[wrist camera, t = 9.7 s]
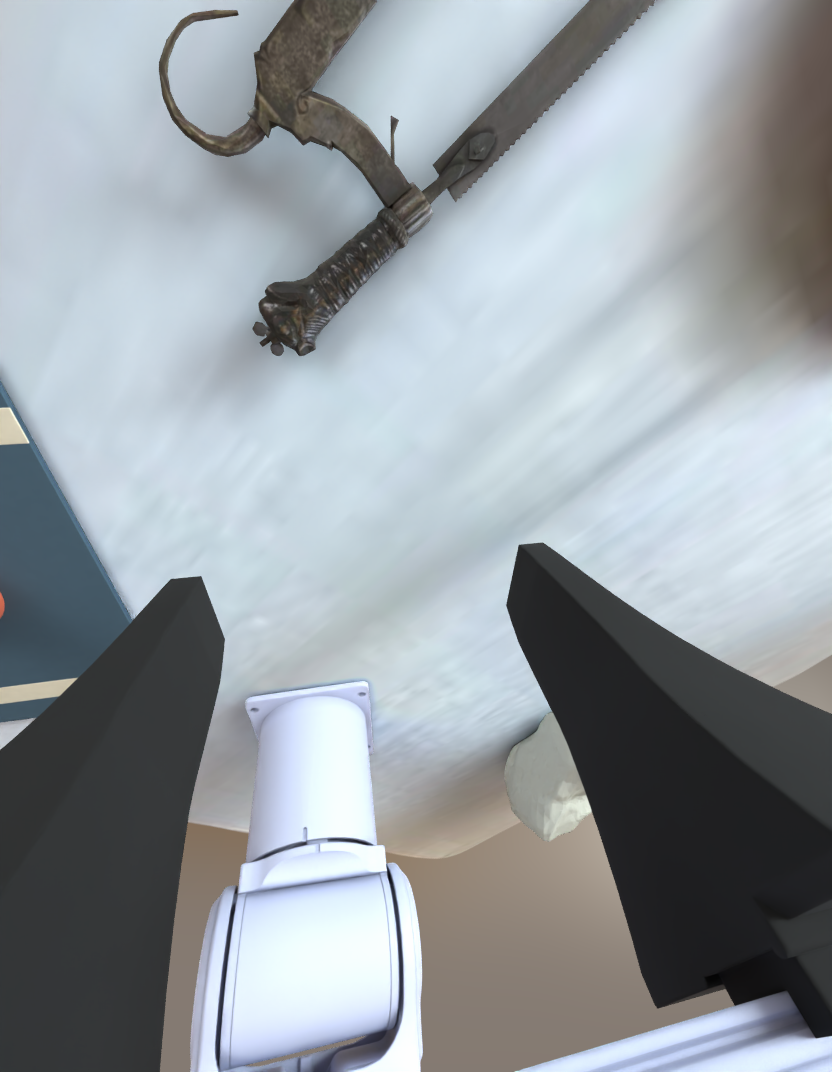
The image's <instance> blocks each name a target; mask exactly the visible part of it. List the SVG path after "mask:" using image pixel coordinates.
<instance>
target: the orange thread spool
mask: <svg viewBox="0 0 832 1072" xmlns="http://www.w3.org/2000/svg"><path fill="white" fill-rule="evenodd" d="M3 613H4V599H3V597H2V594H1V593H0V619H1V617H2V615H3Z"/></svg>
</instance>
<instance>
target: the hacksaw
mask: <svg viewBox="0 0 832 1072" xmlns="http://www.w3.org/2000/svg"><path fill="white" fill-rule="evenodd" d="M654 1H655V0H590V1H589V2H588V3H587V4H586V5H585V6H584V7H583V8H582V9H581V10H580V11H579V12H578V13H577V14H576V15H575V16H574V17H573V19H572V20H571V21H570V22H569V23H568V24H567V25H566V26H565V27H564V28H563V29H562V30H561V31H560V32H559V33H558V34H557V35H556V36H555V37H554V38H553V39H552V41H551V42H550V43H549V44H548V45H547V46H546V47H545V48H544V49H543V50H542V51H541V52H540V53H539V54H538V55H537V56H536V57H535V58H534V59H533V60H532V61H531V63H530V64H529V65H528V66H527V67H526V68H525V69H524V70H523V71H522V72H521V73H520V74H519V75H518V76H517V77H516V78H515V79H514V80H513V81H512V82H511V83H510V85H509V86H508V87H507V88H506V89H505V90H504V91H503V92H502V93H501V94H500V95H499V96H498V97H497V98H496V99H495V100H494V101H493V102H492V103H491V104H490V105H489V107H488V108H487V109H486V110H485V111H484V112H483V113H482V114H481V115H480V116H479V117H478V118H477V119H476V120H475V121H474V122H473V123H472V124H471V125H470V126H469V127H468V129H467V130H466V131H465V132H464V133H463V134H462V135H461V136H460V137H459V138H458V139H457V140H456V141H455V142H454V143H453V144H452V145H451V146H450V147H449V148H448V149H447V151H446V152H445V153H444V154H443V155H442V156H441V157H440V158H439V159H438V160H437V161H436V162H435V163H434V164H433V166H434V168H435V169H436V171H437V173H438V174H439V177H438V178H437V180H436V181H434V182H433V183H432V184H431V185H429V186H428V187H427V188H426V189H424V190H423V191H422V192H421V191H420V190H419V188H418V187H417V186H416V185H415V184H414V183H413V182H412V183H410V184H409V183H408V182H407V180H406V179H405V177H404V176H403V174H402V173H401V171H400V170H399V168H398V167H397V166H396V165H395V162H394V132H395V129H396V127H397V124H398V121H399V120H398V119H396V118H394V117H392V116H391V157H390V155H389V154H388V153H387V151H386V150H385V148H384V147H383V146H382V144H381V143H380V142H379V140H378V139H377V138H376V136H375V135H374V133H373V132H372V131H371V129H370V128H369V127H368V125H367V124H365V123H364V122H363V121H362V120H360V119H359V118H358V117H356V116H355V115H354V114H352V113H351V112H350V111H349V110H347V109H346V108H345V107H343V106H342V105H340V104H339V103H337V102H336V101H334V100H333V99H330V98H328V97H325V96H323V95H320V94H317V93H315V92H312V88H313V87H314V86H315V84H316V83H317V81H318V80H319V78H320V77H321V76H322V74H323V73H324V71H325V70H326V68H327V67H328V66H329V64H330V63H331V61H332V60H333V59H334V57H335V56H336V55H337V54H338V52H339V51H340V50H341V49H342V47H343V46H344V45H345V43H346V42H347V41H348V40H349V38H350V37H351V36H352V34H353V33H354V32H355V30H356V29H357V28H358V26H359V25H360V24H361V22H362V21H363V20H364V18H365V17H366V16H367V14H368V13H369V12H370V10H371V9H372V8H373V6H374V5H375V3H376V2H377V0H294V1H293V3H292V4H291V6H290V7H289V8H288V10H287V11H286V12H285V14H284V15H283V17H282V18H281V19H280V21H279V22H278V23H277V25H276V26H275V28H274V29H273V30H272V32H271V33H270V34H269V36H268V37H267V39H266V40H265V41H264V42H262V43H261V46H260V50H259V51H257V52H255V53H254V59H255V67H256V75H257V88H256V95H255V101H254V107H253V108H252V109H251V110H250V111H249V112H248V113H247V114H248V115H249V117H250V119H249V120H248V122H247V123H246V124H245V125H244V126H242V127H241V128H239V129H238V130H236V131H234V132H233V133H231V134H230V135H228V136H227V137H221V136H215V135H209V134H206V133H205V132H203V131H202V130H200V129H199V128H198V127H196V126H195V125H193V124H192V123H190V122H189V121H187V120H186V119H185V117H184V116H183V115H182V113H181V112H180V110H179V109H178V107H177V106H176V104H175V101H174V99H173V97H172V94H171V92H170V87H169V81H168V75H167V72H168V62H169V57H170V55H171V52H172V49H173V47H174V44H175V42H176V40H177V38H178V37H179V35H180V34H181V32H182V31H183V29H184V28H185V27H187V26H189V25H190V24H192V23H193V22H196V21H203V20H209V19H216V18H223V17H230V16H237V15H238V11H237V10H213V11H205V12H198V13H192V14H191V15H189V16H187V17H185V18H184V19H182V20H181V21H180V22H179V23H178V25H177V26H176V27H175V29H174V30H173V32H172V33H171V35H170V36H169V37H168V39H167V40H166V43H165V46H164V49H163V52H162V55H161V58H160V61H159V74H160V81H161V88H162V96H163V99H164V101H165V104H166V106H167V109H168V111H169V113H170V116H171V118H172V120H173V121H174V123H175V124H176V125H177V126H178V127H179V128H180V130H181V131H182V132H183V133H184V134H185V135H186V136H187V137H188V138H190V139H191V140H192V141H194V142H195V143H196V144H198V145H199V146H200V147H202V148H203V149H205V150H207V151H209V152H211V153H213V154H215V155H219V156H226V157H230V156H234V155H239V154H243V153H247V152H248V151H249V150H250V149H252V148H253V147H254V146H256V145H257V144H258V143H260V142H261V141H262V140H263V138H264V136H265V135H266V136H267V137H268V138H269V135H270V132H271V129H272V128H274V127H276V126H279V127H281V128H283V129H285V130H287V131H289V132H291V133H292V134H293V135H294V136H295V137H296V138H297V139H298V140H299V141H300V143H301V144H302V145H305V144H307V143H308V142H310V141H311V142H314V143H317V144H320V145H323V146H326V147H327V148H328V149H330V150H331V151H332V149H333V147H334V148H336V149H338V150H339V151H341V152H342V153H343V154H344V155H345V156H346V157H347V158H348V159H349V160H350V161H351V162H352V163H353V164H354V165H355V166H356V167H357V168H358V169H359V170H360V171H361V172H362V173H363V175H364V176H365V178H366V179H367V181H368V182H369V184H370V185H371V186H372V188H373V189H374V191H375V192H376V194H377V195H378V197H379V198H380V200H381V201H382V203H383V204H384V205H385V208H383V209H382V210H381V211H380V212H379V213H378V215H377V218H376V219H375V220H374V221H372V222H371V223H370V224H368V225H367V226H366V228H365V229H363V230H361V231H359V232H358V233H357V235H356V236H355V237H354V238H353V239H351V240H349V241H348V242H347V243H346V244H345V245H344V246H343V247H342V248H341V249H340V250H338V251H336V252H335V254H334V255H333V256H332V257H331V258H329V259H328V260H326V261H325V262H323V263H322V264H321V265H320V266H318V268H317V269H316V271H315V272H313V273H312V274H311V275H309V276H308V277H307V278H304V279H301V280H297V281H294V282H275V283H272V284H271V285H269V286H268V287H267V289H266V290H265V293H266V295H267V296H266V297H264V298H263V299H261V300H260V302H259V310H260V313H261V314H262V316H263V318H264V320H265V321H266V323H267V325H268V327H267V326H265V325H264V324H263V323H261V322H256V323H255V325H254V327H253V331H254V332H255V334H256V335H259V336H264V335H265V334H266V336H267V337H266V338H265V339H264V340H262V341H261V342H260V344H261V346H262V347H263V346H265V345H266V344H268V343H269V342H270V341H271V342H272V345H271V351H272V353H273V354H274V355H276V356H281V355H282V354H283V352H284V348H283V345H282V344H280V343H281V342H282V343H283V344H284V345H286V346H288V347H290V348H292V349H294V350H295V351H296V352H297V354H298V355H299V356H304V355H306V354H308V353H310V352H311V351H313V350H315V349H316V347H315V345H316V344H315V341H316V337H317V336H318V334H319V333H320V332H321V330H322V329H323V327H324V326H326V325H327V323H328V322H329V321H330V319H331V318H332V317H333V316H334V315H335V314H336V313H337V312H338V311H339V310H340V309H341V308H342V306H343V305H345V304H347V303H348V301H349V299H350V298H351V297H352V296H353V295H354V294H355V293H356V292H357V291H358V289H359V288H360V287H361V286H362V285H363V284H365V283H366V282H367V280H368V279H369V278H370V277H371V276H372V275H373V274H374V273H375V272H376V271H377V270H378V269H379V268H380V266H381V265H382V264H384V263H385V262H386V261H387V260H388V259H389V258H390V257H392V256H393V255H394V253H395V252H396V251H397V249H401V248H403V247H405V246H406V245H407V243H408V240H409V238H410V237H411V236H413V235H414V234H415V233H417V232H418V231H419V230H420V229H421V228H422V227H424V226H425V225H426V224H427V223H428V222H429V221H430V219H431V217H432V214H433V212H432V209H431V206H430V204H431V203H432V202H433V201H434V200H435V199H436V198H437V197H438V196H439V195H440V194H441V193H442V192H443V191H444V190H445V189H446V188H447V189H448V191H449V192H450V194H451V196H452V197H453V199H454V201H455V202H457V199H458V198H461V197H462V194H463V193H466V192H467V189H468V188H471V187H472V184H473V183H476V182H477V180H478V178H479V177H482V175H483V173H484V172H487V171H488V168H489V167H492V166H493V164H494V162H495V161H498V159H499V156H503V155H504V152H505V151H508V150H509V148H510V145H514V144H515V141H516V140H517V139H520V137H521V135H522V134H525V133H526V130H527V128H531V127H532V124H533V123H536V122H537V120H538V117H542V116H543V113H544V111H548V110H549V107H550V105H554V103H555V100H557V99H560V97H561V94H563V93H566V91H567V89H568V88H570V87H572V85H573V82H576V81H578V79H579V76H582V75H584V73H585V70H587V69H590V67H591V65H592V63H596V61H597V58H598V57H602V55H603V53H604V51H608V49H609V47H610V45H612V44H615V41H616V39H617V38H621V36H622V34H623V32H627V30H628V28H629V26H631V25H634V23H635V21H636V19H640V18H641V15H642V13H643V12H647V10H648V8H649V6H653V5H654Z"/></svg>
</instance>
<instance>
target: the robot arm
mask: <svg viewBox="0 0 832 1072" xmlns="http://www.w3.org/2000/svg"><path fill="white" fill-rule="evenodd" d="M506 606H507V609H508V612H509V615H510V618H511V621H512V625H513V627H514V630H515V633H516V636H517V639H518V642H519V644H520V646H521V648H522V650H523V653H524V655H525V657H526V659H527V661H528V663H529V665H530V667H531V669H532V671H533V673H534V675H535V677H536V679H537V681H538V683H539V686H540V688H541V690H542V692H543V694H544V696H545V698H546V700H547V702H548V704H549V706H550V708H551V710H552V712H553V714H554V716H555V718H556V720H557V722H558V724H559V726H560V729H561V731H562V733H563V736H564V738H565V740H566V742H567V745H568V747H569V750H570V753H571V755H572V758H573V761H574V763H575V766H576V769H577V771H578V774H579V777H580V779H581V782H582V785H583V787H584V790H585V793H586V796H587V799H588V802H589V805H590V807H591V810H592V813H593V816H594V818H595V822H596V824H597V827H598V830H599V833H600V836H601V839H602V842H603V845H604V849H605V852H606V855H607V858H608V861H609V864H610V867H611V870H612V874H613V877H614V880H615V883H616V886H617V889H618V893H619V896H620V900H621V903H622V906H623V910H624V913H625V917H626V920H627V923H628V926H629V930H630V933H631V937H632V940H633V944H634V948H635V951H636V955H637V959H638V962H639V966H640V970H641V973H642V976H643V978H644V980H645V983H646V985H647V988H648V990H649V992H650V994H651V997H652V999H653V1002H654V1004H655V1006H656V1007H657V1008H661V1007H665V1006H668V1005H671V1004H675V1003H678V1002H682V1001H685V1000H689V999H692V998H696V997H699V996H702V995H705V994H709V993H713V992H716V991H720V990H723V989H726V990H727V992H728V994H729V996H730V998H731V999H732V1001H733V1003H734V1005H735V1006H733V1007H730V1008H726V1009H723V1010H720V1011H717V1012H713V1013H710V1014H706V1015H703V1016H700V1017H697V1018H693V1019H690V1020H686V1021H683V1022H679V1023H677V1024H673V1025H670V1026H666V1027H663V1028H659V1029H656V1030H653V1031H649V1032H646V1033H643V1034H639V1035H636V1036H633V1037H629V1038H626V1039H623V1040H619V1041H616V1042H612V1043H609V1044H606V1045H602V1046H599V1047H596V1048H592V1049H589V1050H586V1051H582V1052H579V1053H576V1054H572V1055H569V1056H566V1057H562V1058H559V1059H555V1060H552V1061H549V1062H545V1063H542V1064H539V1065H536V1066H532V1067H529V1068H525V1069H522V1070H518V1071H515V1072H832V714H830V713H828V712H825V711H823V710H821V709H819V708H816V707H814V706H812V705H809V704H807V703H805V702H803V701H801V700H799V699H796V698H794V697H792V696H790V695H788V694H786V693H783V692H781V691H779V690H777V689H775V688H773V687H771V686H769V685H767V684H765V683H763V682H761V681H759V680H757V679H755V678H753V677H751V676H749V675H747V674H745V673H743V672H741V671H739V670H737V669H735V668H733V667H731V666H729V665H727V664H725V663H723V662H722V661H720V660H718V659H716V658H714V657H713V656H711V655H709V654H707V653H705V652H704V651H702V650H700V649H698V648H697V647H695V646H693V645H691V644H690V643H688V642H686V641H684V640H683V639H681V638H679V637H678V636H676V635H674V634H673V633H671V632H669V631H668V630H666V629H665V628H663V627H662V626H660V625H658V624H657V623H655V622H654V621H652V620H651V619H649V618H648V617H646V616H645V615H643V614H641V613H640V612H638V611H637V610H635V609H634V608H633V607H631V606H630V605H628V604H627V603H625V602H624V601H622V600H621V599H620V598H618V597H617V596H615V595H614V594H612V593H611V592H610V591H608V590H607V589H605V588H604V587H603V586H601V585H600V584H599V583H597V582H596V581H595V580H593V579H592V578H590V577H589V576H588V575H586V574H585V573H584V572H582V571H581V570H580V569H578V568H577V567H576V566H574V565H573V564H572V563H570V562H569V561H568V560H566V559H565V558H564V557H562V556H561V555H560V554H558V553H557V552H556V551H554V550H553V549H551V548H550V547H548V546H547V545H546V544H544V543H534V544H524V545H519V547H518V552H517V556H516V561H515V566H514V571H513V576H512V580H511V585H510V590H509V595H508V600H507V604H506ZM224 642H225V638H224V636H223V633H222V630H221V628H220V625H219V622H218V620H217V617H216V614H215V612H214V609H213V606H212V604H211V601H210V598H209V596H208V593H207V590H206V588H205V585H204V582H203V580H202V577H201V576H199V577H188V578H178V579H171V580H170V581H169V582H168V583H167V584H166V585H165V586H164V587H163V588H162V589H161V590H160V591H159V592H158V594H157V595H156V596H155V597H154V598H153V599H152V600H151V601H150V602H149V603H148V604H147V606H146V607H145V608H144V609H143V610H142V611H141V612H140V613H139V614H138V616H137V617H136V618H135V619H134V620H133V621H132V622H131V623H130V624H129V625H128V626H127V628H126V629H125V630H124V631H123V632H122V633H121V634H120V635H119V636H118V637H117V638H116V639H115V640H114V641H113V643H112V644H111V645H110V646H109V647H108V648H107V649H106V650H105V651H104V652H103V653H102V654H101V655H100V656H99V657H98V658H97V660H96V661H95V662H94V663H93V664H92V665H91V666H90V667H89V668H88V669H87V670H86V671H85V672H84V673H83V674H81V675H80V676H79V677H78V678H77V679H76V680H75V681H74V682H73V683H72V684H71V685H70V686H69V687H68V688H67V689H66V690H65V691H64V692H63V693H62V694H61V695H60V696H59V697H58V698H57V699H56V700H55V701H54V702H53V703H52V704H51V705H50V706H49V707H48V708H47V709H46V710H45V711H44V712H43V713H41V714H40V715H39V716H38V717H37V718H36V719H35V720H34V721H33V722H32V723H31V724H29V725H28V726H27V727H26V728H25V729H24V730H23V731H22V732H21V733H19V734H18V735H17V736H16V737H15V738H14V739H13V740H11V741H10V742H9V743H8V744H7V745H6V746H4V747H3V748H2V749H1V750H0V1072H160V1060H161V1049H162V1036H163V1025H164V1013H165V1002H166V989H167V981H168V972H169V963H170V953H171V944H172V935H173V926H174V917H175V909H176V902H177V894H178V886H179V879H180V871H181V863H182V857H183V850H184V843H185V837H186V836H185V835H186V830H187V823H188V816H189V810H190V805H191V800H192V796H193V791H194V786H195V782H196V778H197V774H198V770H199V766H200V762H201V758H202V754H203V750H204V746H205V742H206V738H207V734H208V730H209V726H210V722H211V718H212V714H213V710H214V706H215V702H216V697H217V693H218V689H219V685H220V678H221V670H222V662H223V652H224ZM245 708H246V711H247V713H248V716H249V718H250V721H251V723H252V726H253V729H254V731H255V734H256V736H257V739H258V741H259V750H258V758H257V767H256V776H255V785H254V794H253V802H252V811H251V820H250V829H249V838H248V846H247V855H246V863H244V864H242V865H241V870H240V878H239V887H238V886H228V887H226V888H225V889H224V890H223V892H222V895H221V896H219V898H218V899H217V900H216V901H215V902H214V904H213V905H212V908H211V911H210V914H209V918H208V921H207V926H206V930H205V935H204V940H203V946H202V951H201V957H200V963H199V970H198V977H197V983H196V991H195V999H194V1008H193V1017H192V1028H191V1044H190V1057H191V1069H190V1072H421V1070H420V1060H421V1058H422V1055H423V1047H422V1032H421V1013H420V998H421V988H422V959H421V944H420V934H419V925H418V918H417V912H416V906H415V902H414V897H413V893H412V889H411V886H410V883H409V880H408V878H407V877H406V875H405V874H404V873H403V872H402V871H401V870H400V868H399V866H398V865H397V864H396V863H388V864H386V857H385V848H384V845H377V839H376V828H375V817H374V806H373V795H372V784H371V773H370V762H369V755H372V754H373V752H374V749H373V736H372V723H371V710H370V697H369V685H368V683H367V682H365V681H358V682H351V683H344V684H337V685H330V686H323V687H316V688H309V689H302V690H295V691H288V692H281V693H274V694H267V695H260V696H253V697H249V698H247V699H246V701H245ZM365 1035H366V1036H365ZM361 1036H365V1037H364V1038H362V1039H360V1040H358V1041H356V1042H354V1043H351V1044H347V1045H343V1046H339V1047H335V1048H331V1049H327V1050H324V1051H319V1052H315V1053H311V1054H307V1055H303V1056H299V1057H295V1058H291V1059H288V1060H284V1061H279V1062H275V1063H271V1064H267V1065H264V1066H245V1065H249V1064H253V1063H257V1062H260V1061H265V1060H269V1059H273V1058H277V1057H281V1056H285V1055H289V1054H293V1053H297V1052H301V1051H305V1050H309V1049H313V1048H317V1047H321V1046H325V1045H329V1044H333V1043H337V1042H341V1041H345V1040H349V1039H353V1038H357V1037H361Z"/></svg>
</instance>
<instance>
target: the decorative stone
mask: <svg viewBox="0 0 832 1072" xmlns="http://www.w3.org/2000/svg"><path fill="white" fill-rule="evenodd" d="M505 783H506V787H507V793H508V797H509V799H510V803H511V809H512V811H513V813H514V814H515V815H516V816H517V817H518V818H519V819H520V820H521V821H522V822H523V823H524V824H525V825H526V826H527V827H529V828H530V829H531V830H533V831H534V832H535V833H536V834H537V836H539V837H540V838H541V839H543V840H544V841H548V842H549V841H551V840H552V839H554V838H556V837H557V836H559V835H562V834H565V833H570V832H571V831H572V830H573V829H574V828H575V827H576V826H577V825H578V824H579V823H580V822H581V821H582V820H583V819H584V818H585V817H586V816H587V815H589V814H590V813H591V812H592V810H591V807H590V805H589V802H588V799H587V796H586V793H585V790H584V787H583V785H582V782H581V779H580V777H579V774H578V771H577V769H576V766H575V763H574V761H573V758H572V755H571V753H570V750H569V747H568V745H567V742H566V740H565V738H564V736H563V733H562V731H561V729H560V726H559V724H558V722H557V720H556V718H555V716H554V714H553V712H551V713H548V714H547V715H545V717H544V719H543V720H542V721H541V723H540V724H539V727H538V730H537V731H536V732H535V733H534V734H532V735H531V736H529V737H528V738H527V739H524V740H522V741H521V742H520V743H518V744H517V745H515V746H514V747H513V749H512V750H511V752H510V754H509V757H508V759H507V762H506V767H505Z"/></svg>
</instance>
